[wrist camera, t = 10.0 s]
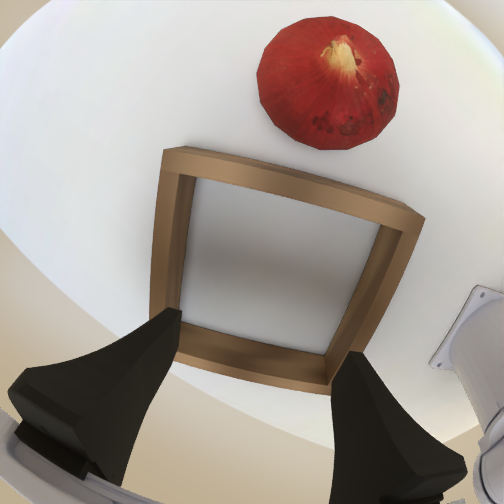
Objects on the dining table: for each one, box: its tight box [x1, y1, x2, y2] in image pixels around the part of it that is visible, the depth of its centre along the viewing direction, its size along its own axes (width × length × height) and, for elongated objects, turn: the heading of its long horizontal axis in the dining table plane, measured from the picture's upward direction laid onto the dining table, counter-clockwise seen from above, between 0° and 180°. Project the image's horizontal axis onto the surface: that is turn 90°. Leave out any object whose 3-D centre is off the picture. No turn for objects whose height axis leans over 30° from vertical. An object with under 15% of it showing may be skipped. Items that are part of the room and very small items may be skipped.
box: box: [149, 146, 426, 396], centre depth 16 cm, size 13×13×3 cm
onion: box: [257, 16, 399, 150], centre depth 10 cm, size 6×6×8 cm
